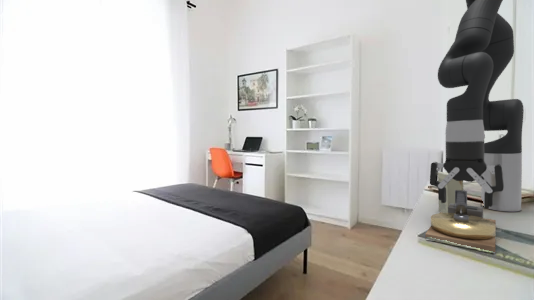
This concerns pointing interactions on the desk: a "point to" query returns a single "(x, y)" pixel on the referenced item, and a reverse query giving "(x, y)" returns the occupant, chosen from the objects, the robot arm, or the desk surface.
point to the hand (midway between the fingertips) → (464, 205)
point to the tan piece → (478, 243)
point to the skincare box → (449, 191)
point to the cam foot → (462, 221)
